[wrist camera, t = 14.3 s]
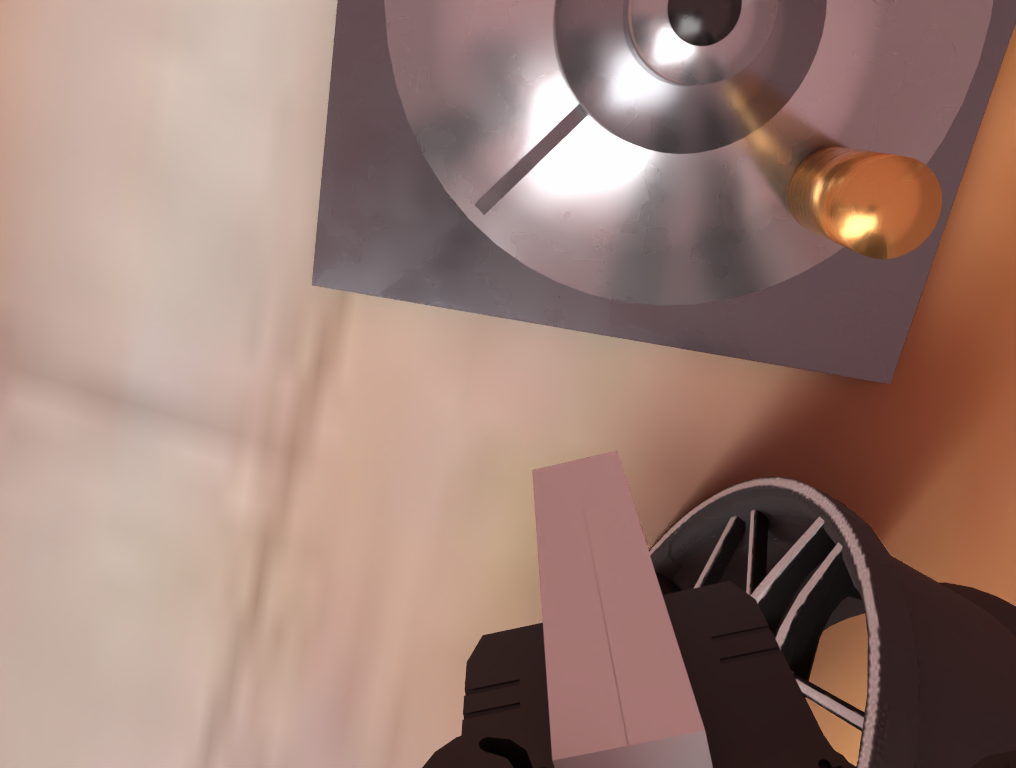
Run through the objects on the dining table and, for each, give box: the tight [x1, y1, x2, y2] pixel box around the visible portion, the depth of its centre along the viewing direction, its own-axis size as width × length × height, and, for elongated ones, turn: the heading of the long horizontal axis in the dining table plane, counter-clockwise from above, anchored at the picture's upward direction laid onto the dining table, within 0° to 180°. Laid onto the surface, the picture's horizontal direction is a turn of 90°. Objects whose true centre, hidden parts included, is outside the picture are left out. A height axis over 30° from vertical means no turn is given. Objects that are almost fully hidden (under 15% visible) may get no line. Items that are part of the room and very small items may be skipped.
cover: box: [553, 0, 827, 154], centre depth 24 cm, size 8×8×5 cm
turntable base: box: [312, 0, 1016, 384], centre depth 29 cm, size 24×24×1 cm
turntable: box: [384, 0, 993, 306], centre depth 25 cm, size 20×20×7 cm
